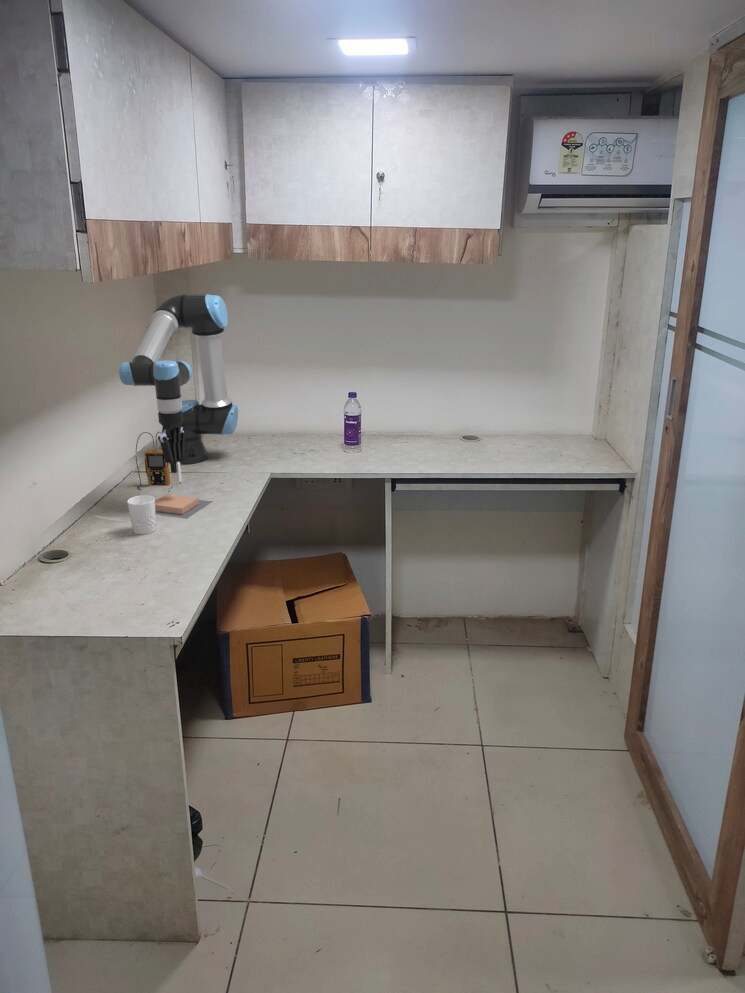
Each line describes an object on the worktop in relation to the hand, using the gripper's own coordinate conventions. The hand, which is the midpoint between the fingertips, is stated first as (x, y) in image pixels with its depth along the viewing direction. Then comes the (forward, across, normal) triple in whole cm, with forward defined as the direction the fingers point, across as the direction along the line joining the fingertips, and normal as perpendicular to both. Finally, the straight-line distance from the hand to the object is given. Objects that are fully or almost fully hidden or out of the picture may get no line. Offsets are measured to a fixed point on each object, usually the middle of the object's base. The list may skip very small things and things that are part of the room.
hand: (177, 481), depth 234 cm
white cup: (+9, +21, +1) cm, 23 cm away
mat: (+9, +2, 0) cm, 9 cm away
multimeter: (+9, -12, -17) cm, 23 cm away
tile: (+7, -2, 0) cm, 7 cm away
